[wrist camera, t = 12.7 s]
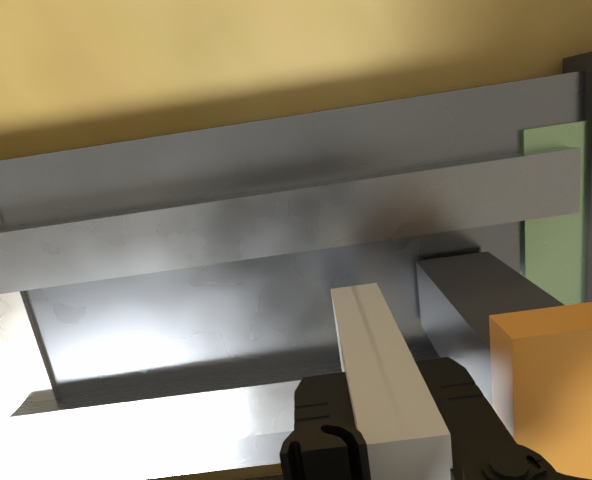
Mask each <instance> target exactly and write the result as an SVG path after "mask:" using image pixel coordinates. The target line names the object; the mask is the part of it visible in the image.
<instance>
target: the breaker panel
mask: <svg viewBox="0 0 592 480" xmlns="http://www.w3.org/2000/svg"><path fill="white" fill-rule="evenodd" d="M585 74H586V70H585V71H579V72H572V73H566V74H559V75H553V76H546V77H540V78H533V79H527V80H520V81H514V82H507V83H501V84H494V85H488V86H481V87H475V88H468V89H462V90H455V91H449V92H442V93H436V94H429V95H423V96H416V97H410V98H403V99H397V100H390V101H384V102H377V103H371V104H364V105H358V106H351V107H345V108H338V109H332V110H325V111H319V112H312V113H306V114H299V115H293V116H286V117H280V118H273V119H267V120H260V121H254V122H247V123H241V124H234V125H228V126H221V127H215V128H208V129H202V130H195V131H189V132H182V133H176V134H169V135H163V136H156V137H150V138H143V139H137V140H130V141H124V142H117V143H111V144H104V145H98V146H91V147H85V148H78V149H72V150H65V151H59V152H52V153H46V154H39V155H33V156H26V157H20V158H13V159H7V160H0V480H144V479H152V478H160V477H169V476H177V475H186V474H194V473H202V472H211V471H219V470H227V469H236V468H244V467H253V466H261V465H269V464H278V463H281V461H280V456H279V453H280V450H281V447H282V444H283V441H284V440H285V439H286V438H287V437H288V436H289V435H290V433H291V432H292V431H294V410H295V408H294V391H295V390H296V388H297V386H298V385H299V383H300V382H301V380H302V378H303V377H308V376H316V375H323V374H331V373H339V372H342V368H341V360H340V353H339V346H338V339H337V331H336V324H335V317H334V309H333V302H332V295H331V289H334V288H341V287H349V286H356V285H363V284H371V283H377V285H378V287H379V289H380V291H381V293H382V295H383V297H384V299H385V301H386V303H387V305H388V307H389V309H390V311H391V313H392V316H393V318H394V320H395V322H396V324H397V326H398V328H399V330H400V332H401V334H402V336H403V338H404V340H405V342H406V344H407V346H408V348H409V350H410V352H411V354H412V357H413V359H414V361H419V360H427V359H435V358H440V356H439V355H438V353H437V351H436V350H435V348H434V346H433V344H432V343H431V341H430V339H429V338H428V336H427V334H426V333H425V331H424V329H423V328H422V326H421V317H420V304H419V292H418V280H417V267H416V261H422V260H429V259H436V258H443V257H451V256H458V255H465V254H472V253H480V252H487V251H488V252H489V253H491V254H492V255H494V256H495V257H496V258H498V259H499V260H501V261H502V262H504V263H505V264H507V265H508V266H509V267H511V268H512V269H514V270H515V271H517V272H518V273H519V274H521V275H522V276H524V277H525V278H527V279H528V280H530V281H531V282H532V283H534V284H535V285H537V286H538V287H540V288H541V289H543V290H544V291H545V292H547V293H548V294H550V295H551V296H553V297H554V298H555V299H557V300H558V301H560V302H561V303H563V304H564V305H572V304H579V303H584V291H585V248H586V206H587V163H588V121H589V120H585Z"/></svg>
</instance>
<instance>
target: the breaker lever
mask: <svg viewBox="0 0 592 480" xmlns="http://www.w3.org/2000/svg"><path fill="white" fill-rule="evenodd" d="M416 267H417V280H418V292H419V304H420V317H421V326H422V328H423V329H424V331H425V333H426V334H427V336H428V338H429V339H430V341H431V343H432V344H433V346H434V348H435V350H436V351H437V353H438V355H439V356H440V358H442V357H449V358H451V359H453V360H454V361H456V362H457V363H459V364H460V365H462V366H464V367H465V368H466V369H467V371H468V372H469V374H470V375H471V377H472V378H473V380H474V381H475V384H476V385H478V387H479V388H480V390H481V391H482V393H483V395H484V397H486V399H487V400H488V402H489V403H490V405H491V406H492V407H493V409H494V410H495V412H496V413H497V415H498V416H499V418H500V419H501V421H502V422H503V424H504V425H505V427H506V428H507V430H508V431H509V432H510V434H511V435H512V437H513V438H514V440H515V441H516V443H517V444H519V445H523V446H525V447H527V448H529V449H531V450H533V451H535V452H537V453H538V454H540V455H541V456H542V457H543V458H544V459H546V460H547V461H548V462H549V463H550V464H551V465H552V466H553V468H554V469H555V470H556V472H559V473H562V474H565V475H569V476H574V477H579V478H586V479H592V302H587V303H579V304H572V305H564V304H563V303H561V302H560V301H558V300H557V299H555V298H554V297H553V296H551V295H550V294H548V293H547V292H545V291H544V290H543V289H541V288H540V287H538V286H537V285H535V284H534V283H532V282H531V281H530V280H528V279H527V278H525V277H524V276H522V275H521V274H519V273H518V272H517V271H515V270H514V269H512V268H511V267H509V266H508V265H507V264H505V263H504V262H502V261H501V260H499V259H498V258H496V257H495V256H494V255H492V254H491V253H489V252H488V251H487V252H480V253H472V254H465V255H458V256H451V257H443V258H436V259H429V260H422V261H416Z"/></svg>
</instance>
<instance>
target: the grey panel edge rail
mask: <svg viewBox="0 0 592 480" xmlns="http://www.w3.org/2000/svg"><path fill="white" fill-rule="evenodd" d="M585 70H586V74H585V120H589V121H588V163H587V206H586V248H585V291H584V303H587V302H592V52H589V53H584V54H580V55H576V56H572V57H567V58H563V74H566V73H572V72H579V71H585Z"/></svg>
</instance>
